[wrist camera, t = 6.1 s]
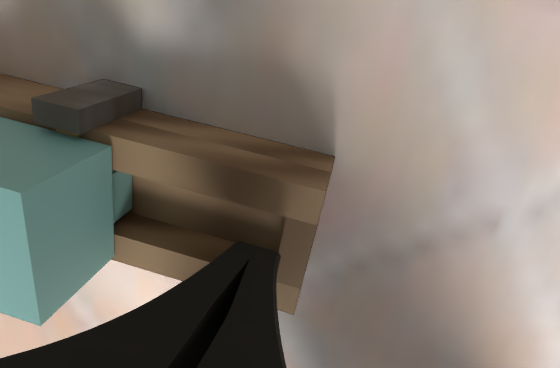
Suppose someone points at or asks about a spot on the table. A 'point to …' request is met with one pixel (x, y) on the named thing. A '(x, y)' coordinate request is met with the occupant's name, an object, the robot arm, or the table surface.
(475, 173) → the table surface
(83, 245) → the block
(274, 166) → the wooden slide track
